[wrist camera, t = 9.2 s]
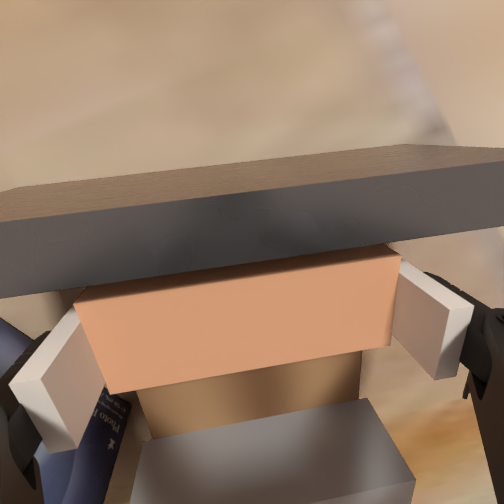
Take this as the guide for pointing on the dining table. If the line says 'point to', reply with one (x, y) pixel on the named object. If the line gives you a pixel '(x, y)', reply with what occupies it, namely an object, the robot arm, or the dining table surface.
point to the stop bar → (241, 213)
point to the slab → (279, 462)
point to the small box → (91, 445)
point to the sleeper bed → (250, 394)
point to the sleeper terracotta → (240, 316)
